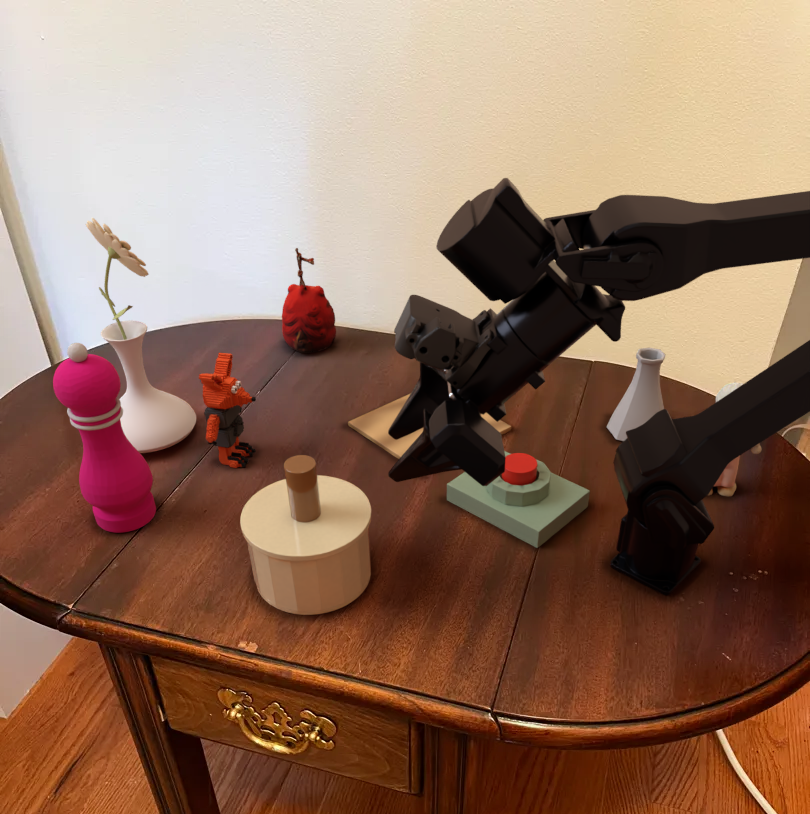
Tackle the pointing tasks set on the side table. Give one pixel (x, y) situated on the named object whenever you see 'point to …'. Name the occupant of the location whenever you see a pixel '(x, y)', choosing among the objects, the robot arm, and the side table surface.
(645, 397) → the flask
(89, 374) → the pepper mill
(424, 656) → the side table surface
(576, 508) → the button base
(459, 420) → the robot arm
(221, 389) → the toy animal
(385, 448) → the wooden board
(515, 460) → the release button
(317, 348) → the red clay folk toy
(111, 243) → the flower in vase
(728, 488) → the grandmother figurine
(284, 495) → the jar lid
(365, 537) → the jar
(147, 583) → the side table surface
